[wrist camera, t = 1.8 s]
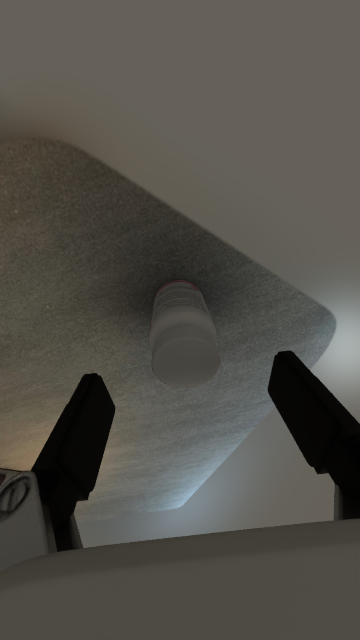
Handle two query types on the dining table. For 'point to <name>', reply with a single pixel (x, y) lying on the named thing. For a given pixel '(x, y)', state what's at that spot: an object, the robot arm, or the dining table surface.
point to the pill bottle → (182, 336)
